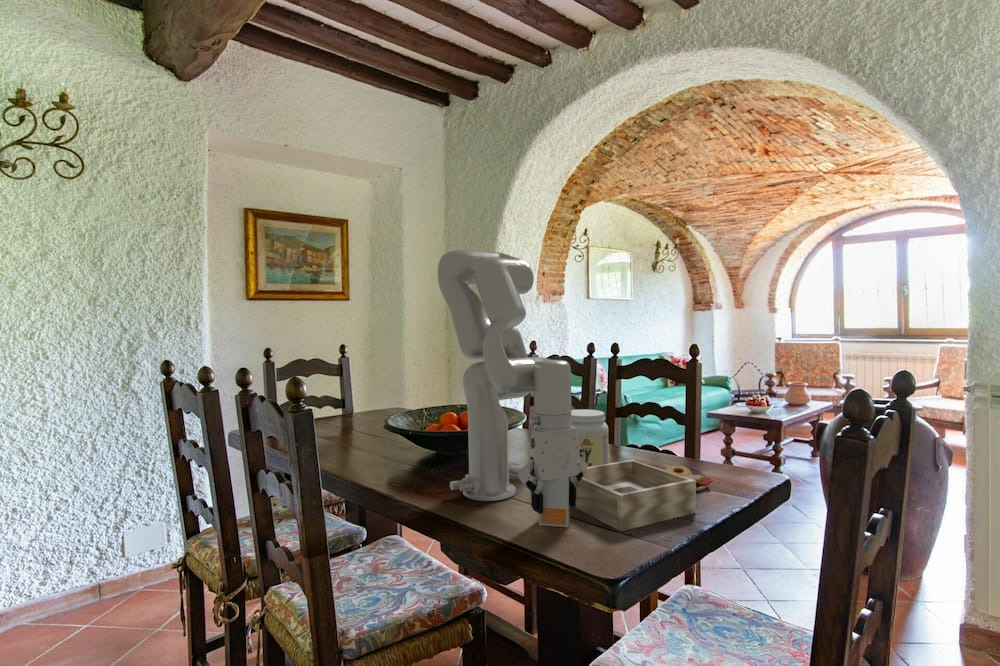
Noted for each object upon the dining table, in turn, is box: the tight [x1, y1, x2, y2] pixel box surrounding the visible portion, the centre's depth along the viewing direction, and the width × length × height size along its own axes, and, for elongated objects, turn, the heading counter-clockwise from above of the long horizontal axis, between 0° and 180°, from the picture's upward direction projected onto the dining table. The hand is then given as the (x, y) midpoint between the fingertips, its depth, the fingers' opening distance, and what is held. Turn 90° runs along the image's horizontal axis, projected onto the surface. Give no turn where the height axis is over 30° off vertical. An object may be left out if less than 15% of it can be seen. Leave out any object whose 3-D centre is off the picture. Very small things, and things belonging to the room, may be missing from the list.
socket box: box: [574, 459, 697, 532], centre depth 121 cm, size 20×20×7 cm
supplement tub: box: [571, 409, 609, 467], centre depth 145 cm, size 12×12×17 cm
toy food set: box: [664, 465, 712, 492], centre depth 137 cm, size 13×13×3 cm
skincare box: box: [538, 468, 570, 528], centre depth 112 cm, size 6×4×12 cm
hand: (554, 507), depth 112 cm, fingers closed on skincare box, 7 cm apart
